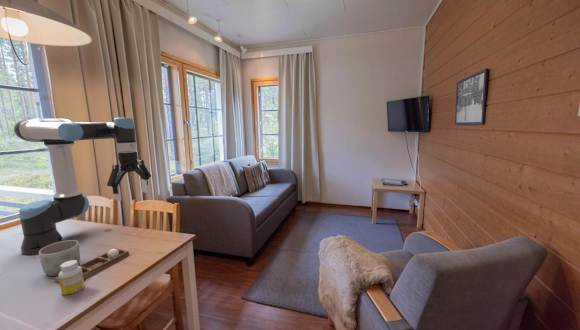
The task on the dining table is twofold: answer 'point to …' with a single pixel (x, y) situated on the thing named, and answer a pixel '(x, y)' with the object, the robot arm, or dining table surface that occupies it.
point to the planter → (58, 256)
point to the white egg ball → (112, 253)
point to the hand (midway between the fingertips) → (132, 196)
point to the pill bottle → (71, 278)
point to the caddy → (99, 264)
